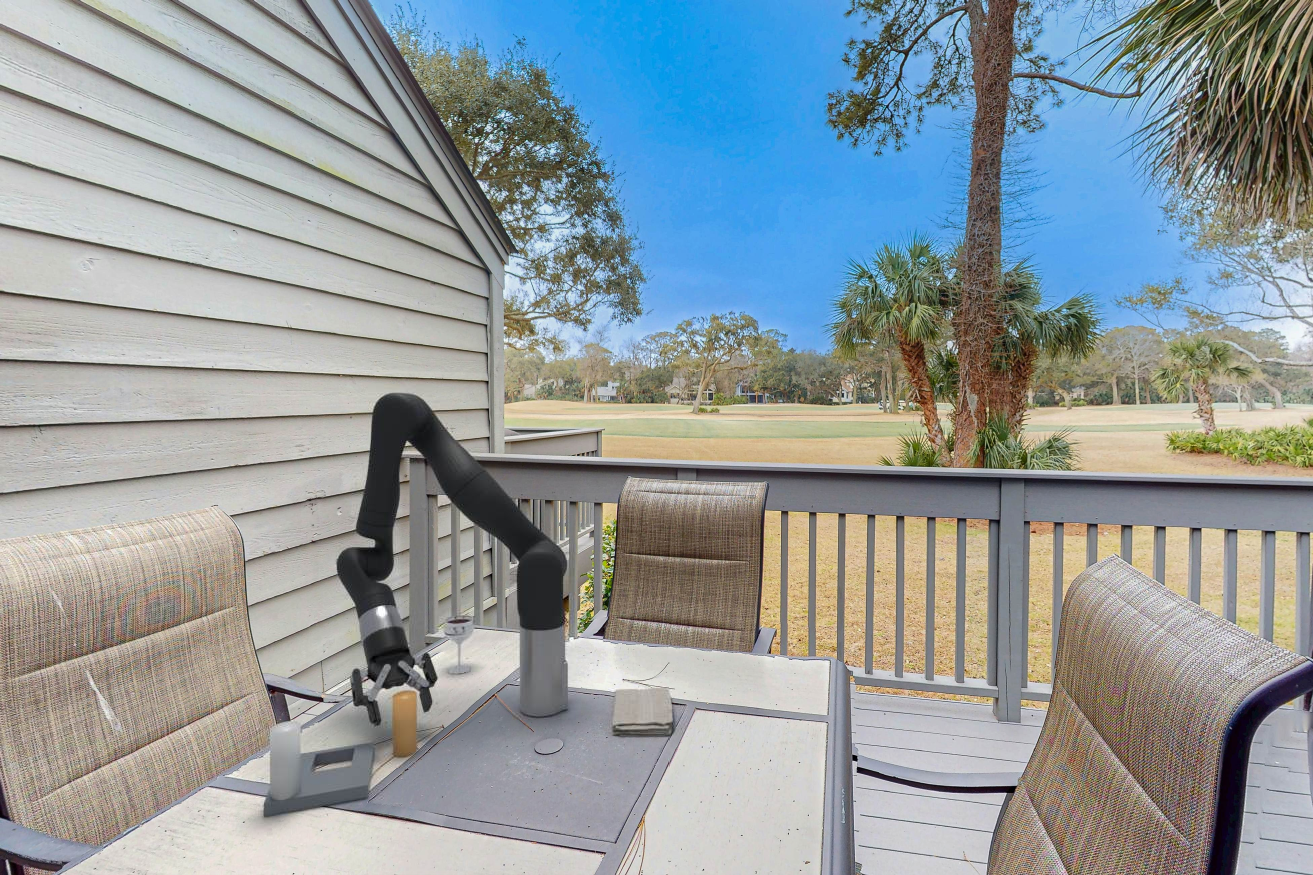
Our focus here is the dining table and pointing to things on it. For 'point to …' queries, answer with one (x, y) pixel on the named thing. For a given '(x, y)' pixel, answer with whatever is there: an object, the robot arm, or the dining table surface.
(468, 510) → the robot arm
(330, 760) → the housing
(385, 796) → the dining table surface
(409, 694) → the orange cylinder
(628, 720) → the washcloth
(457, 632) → the wineglass
